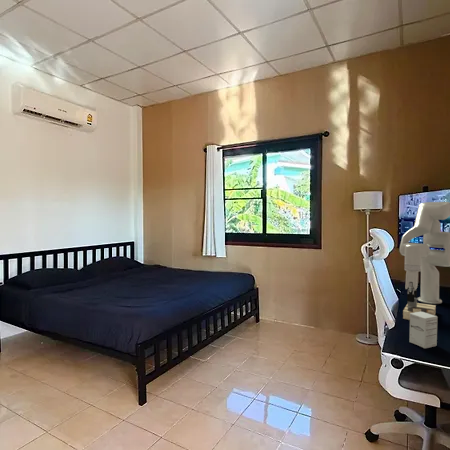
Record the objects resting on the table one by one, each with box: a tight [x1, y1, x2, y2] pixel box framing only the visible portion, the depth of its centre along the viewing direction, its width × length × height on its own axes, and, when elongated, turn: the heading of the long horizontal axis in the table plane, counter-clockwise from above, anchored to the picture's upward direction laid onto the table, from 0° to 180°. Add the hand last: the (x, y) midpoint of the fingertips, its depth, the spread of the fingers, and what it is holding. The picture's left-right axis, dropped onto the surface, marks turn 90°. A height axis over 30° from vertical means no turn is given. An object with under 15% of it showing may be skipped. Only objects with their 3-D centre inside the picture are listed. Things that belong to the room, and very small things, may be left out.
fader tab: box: [407, 297, 418, 307], centre depth 176 cm, size 3×4×4 cm
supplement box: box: [408, 311, 438, 349], centre depth 138 cm, size 7×7×13 cm
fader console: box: [402, 302, 437, 321], centre depth 174 cm, size 20×13×6 cm, turn 144°
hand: (411, 299), depth 176 cm, fingers open, 9 cm apart
